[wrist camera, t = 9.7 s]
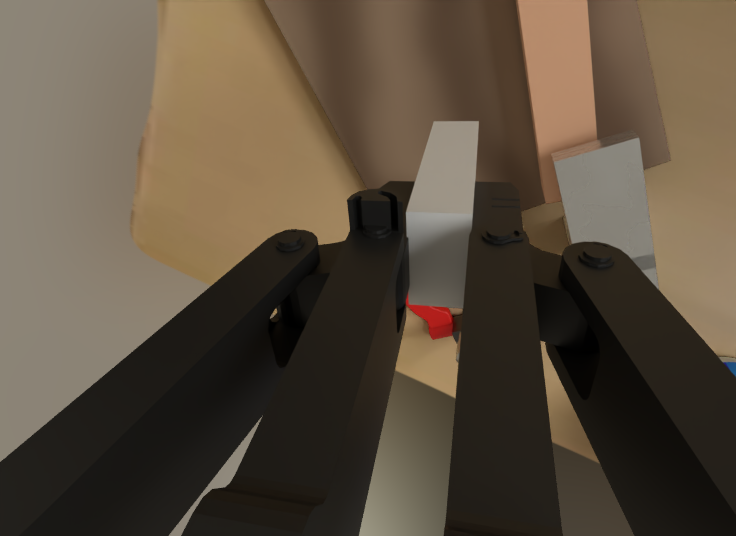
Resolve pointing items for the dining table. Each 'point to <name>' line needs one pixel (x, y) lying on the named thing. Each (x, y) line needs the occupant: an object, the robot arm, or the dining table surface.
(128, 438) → the robot arm
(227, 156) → the dining table surface
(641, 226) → the keeper
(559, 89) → the link
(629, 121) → the pintle plate
